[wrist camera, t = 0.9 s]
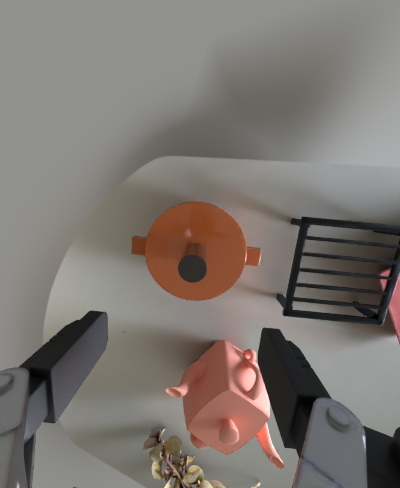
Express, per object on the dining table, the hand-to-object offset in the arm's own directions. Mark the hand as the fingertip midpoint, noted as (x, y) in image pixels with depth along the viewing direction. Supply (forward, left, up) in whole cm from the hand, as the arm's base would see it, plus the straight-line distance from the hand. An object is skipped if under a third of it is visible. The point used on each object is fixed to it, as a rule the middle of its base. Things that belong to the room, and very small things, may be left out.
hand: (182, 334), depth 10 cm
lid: (0, 0, -17) cm, 17 cm away
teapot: (+25, +7, -25) cm, 36 cm away
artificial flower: (+51, +5, -25) cm, 57 cm away
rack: (+2, +23, -25) cm, 34 cm away
